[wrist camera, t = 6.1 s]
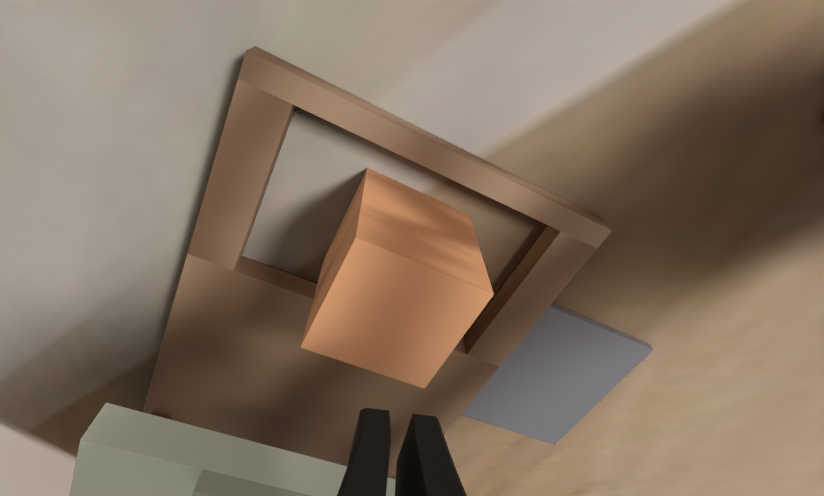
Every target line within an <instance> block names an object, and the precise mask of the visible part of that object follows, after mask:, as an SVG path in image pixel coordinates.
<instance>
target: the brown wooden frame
mask: <svg viewBox="0 0 824 496" xmlns="http://www.w3.org/2000/svg"><path fill="white" fill-rule="evenodd" d="M296 106H297V107H299V108H301V109H303V110H305V111H308V112H310V113H312V114H314V115H316V116H318V117H320V118H322V119H325V120H327V121H329V122H331V123H333V124H335V125H337V126H339V127H341V128H344V129H346V130H348V131H350V132H352V133H354V134H356V135H358V136H360V137H363V138H365V139H367V140H369V141H371V142H373V143H375V144H377V145H379V146H382V147H384V148H386V149H388V150H390V151H392V152H394V153H396V154H398V155H401V156H403V157H405V158H407V159H409V160H411V161H413V162H415V163H417V164H420V165H422V166H424V167H426V168H428V169H430V170H432V171H434V172H436V173H439V174H441V175H443V176H445V177H447V178H449V179H451V180H453V181H456V182H458V183H460V184H462V185H464V186H466V187H468V188H470V189H472V190H475V191H477V192H479V193H481V194H483V195H485V196H487V197H489V198H491V199H494V200H496V201H498V202H500V203H502V204H504V205H506V206H508V207H510V208H513V209H515V210H517V211H519V212H521V213H523V214H525V215H527V216H529V217H532V218H534V219H536V220H538V221H540V222H542V223H544V224H546V225H547V227H546V228H545V229H544V231H543V232H542V233H541V235H540V236H539V237H538V239H537V240H536V242H535V243H534V244H533V246H532V247H531V248H530V250H529V251H528V252H527V254H526V255H525V256H524V258H523V259H522V260H521V262H520V263H519V265H518V266H517V267H516V269H515V270H514V271H513V273H512V274H511V275H510V277H509V278H508V279H507V281H506V282H505V284H504V285H503V286H502V288H501V289H500V290H499V292H498V293H497V294H496V296H495V297H494V298H493V300H492V301H491V302H490V304H489V305H488V307H487V308H486V309H485V311H484V312H483V313H482V315H481V316H480V317H479V319H478V320H477V321H476V323H475V324H474V325H473V327H472V328H471V330H470V331H469V332H468V334H467V335H466V336H465V338H462V339H461V340H460V341H459V343H458V344H457V345H456V347H455V348H454V349H453V351H452V352H451V354H450V355H449V356H448V358H447V359H446V360H445V362H444V363H443V364H442V366H441V367H440V368H439V370H438V371H437V373H436V374H435V375H434V377H433V378H432V379H431V381H430V382H429V383H428V385H427V386H426V387H425V389H424V388H421V387H418V386H415V385H412V384H409V383H406V382H403V381H400V380H397V379H394V378H391V377H388V376H385V375H382V374H379V373H376V372H373V371H370V370H367V369H364V368H361V367H358V366H355V365H352V364H349V363H346V362H343V361H340V360H337V359H334V358H331V357H328V356H324V355H321V354H318V353H315V352H312V351H309V350H306V349H303V348H300V347H301V343H302V339H303V336H304V332H305V328H306V324H307V321H308V317H309V313H310V310H311V306H312V302H313V298H314V295H315V291H316V287H317V284H316V283H313V282H310V281H308V280H305V279H302V278H300V277H297V276H294V275H291V274H289V273H286V272H283V271H281V270H278V269H275V268H273V267H270V266H267V265H265V264H262V263H259V262H256V261H254V260H251V259H248V258H246V257H243V256H242V254H243V251H244V248H245V246H246V243H247V240H248V237H249V235H250V232H251V229H252V226H253V223H254V221H255V218H256V215H257V212H258V210H259V207H260V204H261V201H262V199H263V196H264V193H265V190H266V188H267V185H268V182H269V179H270V176H271V174H272V171H273V168H274V165H275V163H276V160H277V157H278V154H279V152H280V149H281V146H282V143H283V141H284V138H285V135H286V132H287V129H288V127H289V124H290V121H291V118H292V116H293V113H294V110H295V107H296ZM611 232H612V230H611V229H610V228H609V227H608V225H607V224H606V223H605V222H604V221H603V220H602V218H600V217H598V216H596V215H594V214H592V213H590V212H588V211H586V210H584V209H582V208H580V207H578V206H576V205H574V204H572V203H570V202H568V201H566V200H564V199H562V198H560V197H558V196H556V195H554V194H552V193H550V192H548V191H546V190H544V189H542V188H540V187H538V186H536V185H534V184H532V183H530V182H528V181H526V180H524V179H522V178H519V177H517V176H515V175H513V174H511V173H509V172H507V171H505V170H503V169H501V168H499V167H497V166H495V165H493V164H491V163H489V162H487V161H485V160H483V159H481V158H479V157H477V156H475V155H473V154H471V153H469V152H467V151H465V150H463V149H461V148H459V147H457V146H455V145H453V144H451V143H449V142H447V141H445V140H443V139H441V138H439V137H437V136H435V135H433V134H431V133H429V132H427V131H425V130H423V129H421V128H419V127H417V126H415V125H413V124H411V123H409V122H407V121H405V120H403V119H401V118H399V117H397V116H395V115H393V114H391V113H389V112H387V111H385V110H383V109H381V108H379V107H377V106H375V105H373V104H371V103H369V102H367V101H365V100H363V99H361V98H359V97H357V96H355V95H352V94H350V93H348V92H346V91H344V90H342V89H340V88H338V87H336V86H334V85H332V84H330V83H328V82H326V81H324V80H322V79H320V78H318V77H316V76H314V75H312V74H310V73H308V72H306V71H304V70H302V69H300V68H298V67H296V66H294V65H292V64H290V63H288V62H286V61H284V60H282V59H280V58H278V57H276V56H274V55H272V54H270V53H268V52H266V51H264V50H262V49H260V48H258V47H256V46H255V47H253V48H251V49H249V50H246V52H245V56H244V59H243V63H242V66H241V70H240V73H239V77H238V80H237V83H236V87H235V90H234V94H233V97H232V101H231V104H230V108H229V111H228V115H227V118H226V122H225V125H224V129H223V132H222V135H221V139H220V142H219V146H218V149H217V153H216V156H215V160H214V163H213V167H212V170H211V174H210V177H209V181H208V184H207V187H206V191H205V194H204V198H203V201H202V205H201V208H200V212H199V215H198V219H197V222H196V226H195V229H194V233H193V236H192V239H191V243H190V246H189V250H188V253H187V257H186V260H185V264H184V267H183V271H182V274H181V278H180V281H179V285H178V288H177V292H176V295H175V298H174V302H173V305H172V309H171V312H170V316H169V319H168V323H167V326H166V330H165V333H164V337H163V340H162V344H161V347H160V350H159V354H158V357H157V361H156V364H155V368H154V371H153V375H152V378H151V382H150V385H149V389H148V392H147V396H146V399H145V402H144V406H143V409H142V412H144V413H148V414H151V415H155V416H159V417H163V418H166V419H170V420H174V421H178V422H181V423H185V424H189V425H193V426H197V427H200V428H204V429H208V430H212V431H215V432H219V433H223V434H227V435H230V436H234V437H238V438H242V439H246V440H249V441H253V442H257V443H261V444H264V445H268V446H272V447H276V448H279V449H283V450H287V451H291V452H294V453H298V454H302V455H306V456H310V457H313V458H317V459H321V460H325V461H328V462H332V463H336V464H340V465H343V466H348V462H349V455H350V451H351V446H352V442H353V438H354V434H355V430H356V426H357V422H358V418H359V413H360V410H362V409H364V408H372V409H380V410H388V411H389V414H390V430H391V445H390V456H389V468H388V477H389V478H392V479H396V463H397V459H398V456H399V453H400V450H401V447H402V444H403V441H404V438H405V435H406V432H407V429H408V426H409V423H410V420H411V417H412V414H420V415H428V416H436V417H437V418H438V419H439V422H440V425H441V429H442V432H443V435H444V433H445V432H446V431H447V430H448V429H449V427H450V426H451V425H452V424H453V423H454V421H455V420H456V419H457V418H458V417H459V415H460V414H461V413H462V412H463V410H464V409H465V408H466V407H467V406H468V404H469V403H470V402H471V401H472V400H473V398H474V397H475V396H476V395H477V394H478V392H479V391H480V390H481V389H482V388H483V386H484V385H485V384H486V383H487V381H488V380H489V379H490V378H491V377H492V375H493V374H494V373H495V372H496V371H497V369H498V368H499V367H500V366H501V365H502V363H503V362H504V361H505V360H506V359H507V357H508V356H509V355H510V354H511V352H512V351H513V350H514V349H515V348H516V346H517V345H518V344H519V343H520V342H521V340H522V339H523V338H524V337H525V336H526V334H527V333H528V332H529V331H530V329H531V328H532V327H533V326H534V325H535V323H536V322H537V321H538V320H539V319H540V317H541V316H542V315H543V314H544V313H545V311H546V310H547V309H548V308H549V307H550V305H551V304H552V303H553V302H554V300H555V299H556V298H557V297H558V296H559V294H560V293H561V292H562V291H563V290H564V288H565V287H566V286H567V285H568V284H569V282H570V281H571V280H572V279H573V278H574V276H575V275H576V274H577V273H578V271H579V270H580V269H581V268H582V267H583V265H584V264H585V263H586V262H587V261H588V259H589V258H590V257H591V256H592V255H593V253H594V252H595V251H596V250H597V248H598V247H599V246H600V245H601V244H602V242H603V241H604V240H605V239H606V238H607V236H608V235H609V234H610V233H611Z"/></svg>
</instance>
